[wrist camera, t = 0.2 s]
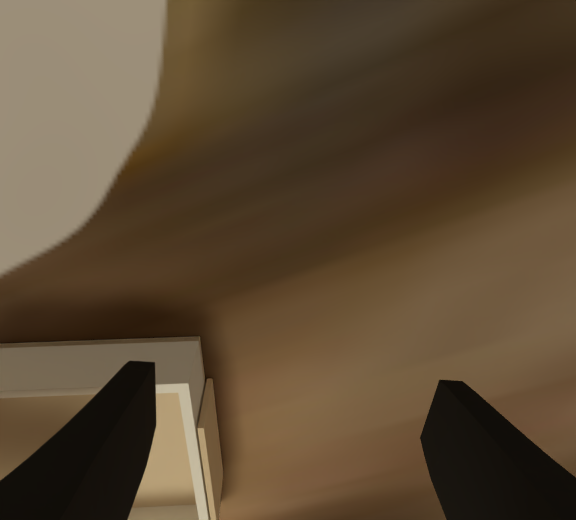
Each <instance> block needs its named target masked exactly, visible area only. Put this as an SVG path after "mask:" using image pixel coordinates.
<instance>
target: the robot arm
mask: <svg viewBox="0 0 576 520" xmlns="http://www.w3.org/2000/svg"><path fill="white" fill-rule="evenodd" d="M155 429H156V381H155V362H145V361H128V362H127V363H126V364H125V365H124V366H123V367H122V368H121V369H120V370H119V371H118V372H117V373H116V374H115V375H114V376H113V377H112V378H111V379H110V381H109V382H108V383H107V384H106V385H105V386H104V387H103V388H102V389H101V390H100V391H99V392H98V393H97V394H96V395H95V396H94V397H93V398H92V399H91V400H90V401H89V402H88V403H87V404H86V405H85V406H84V407H83V408H82V409H81V410H80V411H79V412H78V413H77V414H76V415H75V416H74V417H73V418H72V419H71V420H70V421H69V422H67V423H66V424H65V425H64V426H63V427H62V428H61V429H60V430H59V431H58V432H57V433H56V434H54V435H53V436H52V437H51V438H50V439H49V440H48V441H47V442H45V443H44V444H43V445H42V446H41V447H40V448H39V449H37V450H36V451H35V452H34V453H33V454H32V455H31V456H30V457H28V458H27V459H26V460H25V461H24V462H22V463H21V464H20V465H19V466H18V467H16V468H15V469H14V470H13V471H12V472H10V473H9V474H8V475H7V476H5V477H4V478H3V479H2V480H0V520H128V517H129V514H130V511H131V509H132V506H133V503H134V500H135V497H136V495H137V492H138V489H139V486H140V483H141V480H142V478H143V475H144V472H145V469H146V466H147V462H148V458H149V454H150V450H151V446H152V442H153V437H154V433H155ZM420 439H421V443H422V447H423V451H424V455H425V459H426V463H427V467H428V470H429V474H430V477H431V480H432V483H433V485H434V488H435V491H436V493H437V496H438V498H439V501H440V503H441V506H442V509H443V511H444V514H445V516H446V519H447V520H576V478H575V477H574V476H573V475H572V474H570V473H569V472H568V471H567V470H565V469H564V468H563V467H562V466H560V465H559V464H558V463H557V462H555V461H554V460H553V459H552V458H551V457H549V456H548V455H547V454H546V453H545V452H543V451H542V450H541V449H540V448H539V447H538V446H536V445H535V444H534V443H533V442H532V441H531V440H529V439H528V438H527V437H526V436H525V435H524V434H522V433H521V432H520V431H519V430H518V429H517V428H516V427H515V426H513V425H512V424H511V423H510V422H509V421H508V420H507V419H505V418H504V417H503V416H502V415H501V414H500V413H499V412H498V411H496V410H495V409H494V408H493V407H492V406H491V405H490V404H489V403H487V402H486V401H485V400H484V399H483V398H482V397H481V396H479V395H478V394H477V393H476V392H475V391H474V390H472V389H471V388H470V387H469V386H468V385H466V384H465V383H464V382H463V381H451V380H439V383H438V386H437V389H436V392H435V395H434V398H433V401H432V404H431V407H430V410H429V413H428V416H427V419H426V422H425V425H424V428H423V431H422V434H421V437H420Z"/></svg>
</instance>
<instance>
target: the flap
mask: <svg viewBox="0 0 576 520" xmlns="http://www.w3.org/2000/svg"><path fill="white" fill-rule="evenodd" d="M95 395H96V394H91V395H67V396H42V397H17V398H0V480H2V479H3V478H4V477H5V476H7V475H8V474H9V473H10V472H12V471H13V470H14V469H15V468H16V467H18V466H19V465H20V464H21V463H22V462H24V461H25V460H26V459H27V458H28V457H30V456H31V455H32V454H33V453H34V452H35V451H36V450H37V449H39V448H40V447H41V446H42V445H43V444H44V443H45V442H47V441H48V440H49V439H50V438H51V437H52V436H53V435H54V434H56V433H57V432H58V431H59V430H60V429H61V428H62V427H63V426H64V425H65V424H66V423H67V422H69V421H70V420H71V419H72V418H73V417H74V416H75V415H76V414H77V413H78V412H79V411H80V410H81V409H82V408H83V407H84V406H85V405H86V404H87V403H88V402H89V401H90V400H91V399H92V398H93V397H94V396H95Z"/></svg>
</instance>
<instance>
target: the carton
mask: <svg viewBox="0 0 576 520" xmlns="http://www.w3.org/2000/svg"><path fill="white" fill-rule="evenodd" d="M128 361H145V362H155V381H156V429H155V433H154V437H153V442H152V446H151V450H150V454H149V458H148V462H147V466H146V469H145V472H144V475H143V478H142V480H141V483H140V486H139V489H138V492H137V495H136V497H135V500H134V503H133V506H132V509H131V511H130V514H129V517H128V520H219V513H220V504H221V492H222V482H223V466H222V457H221V449H220V440H219V431H218V423H217V414H216V405H215V397H214V388H213V379H207V380H206V381H205V373H204V365H203V357H202V349H201V341H200V336H191V337H164V338H137V339H110V340H82V341H55V342H28V343H0V398H17V397H42V396H67V395H91V394H97V393H98V392H99V391H100V390H101V389H102V388H103V387H104V386H105V385H106V384H107V383H108V382H109V381H110V379H111V378H112V377H113V376H114V375H115V374H116V373H117V372H118V371H119V370H120V369H121V368H122V367H123V366H124V365H125V364H126V363H127V362H128Z"/></svg>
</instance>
